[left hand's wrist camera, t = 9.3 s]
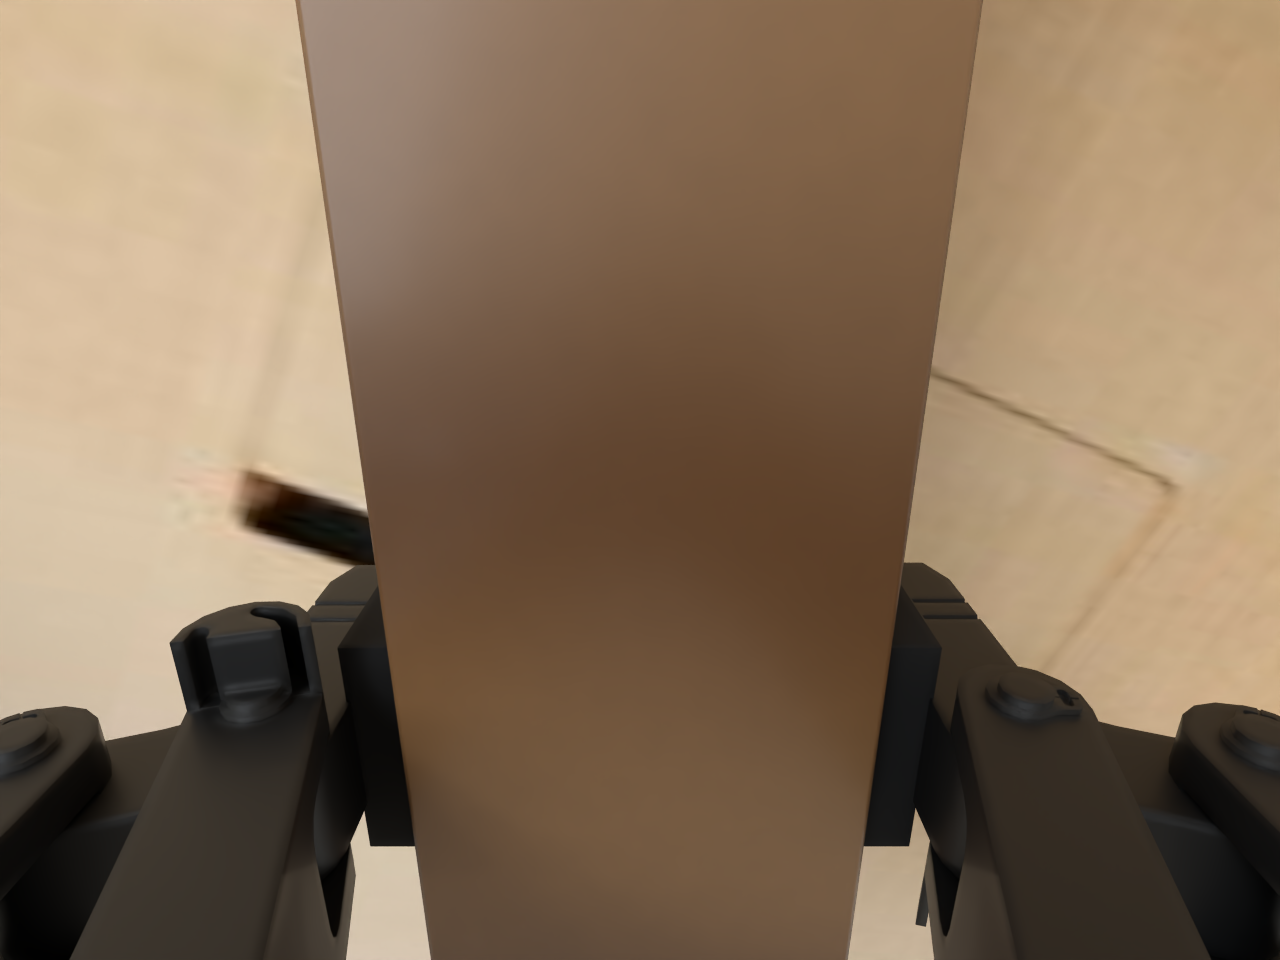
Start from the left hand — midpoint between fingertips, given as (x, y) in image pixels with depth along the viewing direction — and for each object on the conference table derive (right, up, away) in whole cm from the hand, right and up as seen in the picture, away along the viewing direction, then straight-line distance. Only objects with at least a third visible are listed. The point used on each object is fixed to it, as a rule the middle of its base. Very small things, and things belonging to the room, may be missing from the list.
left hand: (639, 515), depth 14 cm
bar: (0, +13, -4) cm, 13 cm away
